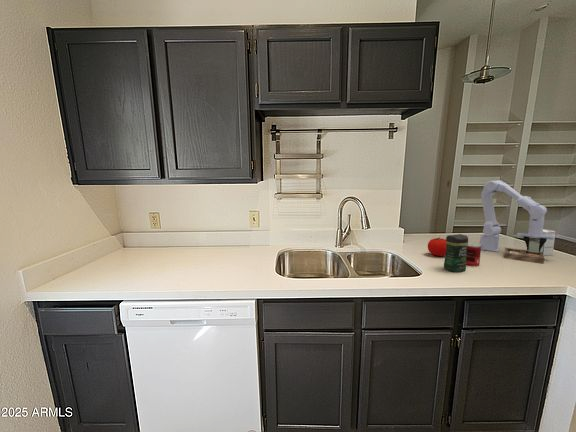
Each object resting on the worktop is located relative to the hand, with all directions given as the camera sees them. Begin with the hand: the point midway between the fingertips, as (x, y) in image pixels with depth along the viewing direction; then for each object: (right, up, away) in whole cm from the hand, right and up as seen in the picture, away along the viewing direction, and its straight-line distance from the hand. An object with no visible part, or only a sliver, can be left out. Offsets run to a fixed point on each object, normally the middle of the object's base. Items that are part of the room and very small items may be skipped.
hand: (533, 250), depth 140 cm
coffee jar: (-53, -8, -12) cm, 55 cm away
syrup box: (+13, -3, +7) cm, 15 cm away
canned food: (-39, -7, -5) cm, 40 cm away
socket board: (-4, -4, +2) cm, 6 cm away
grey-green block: (0, -3, 0) cm, 3 cm away
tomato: (-48, -5, +11) cm, 49 cm away
